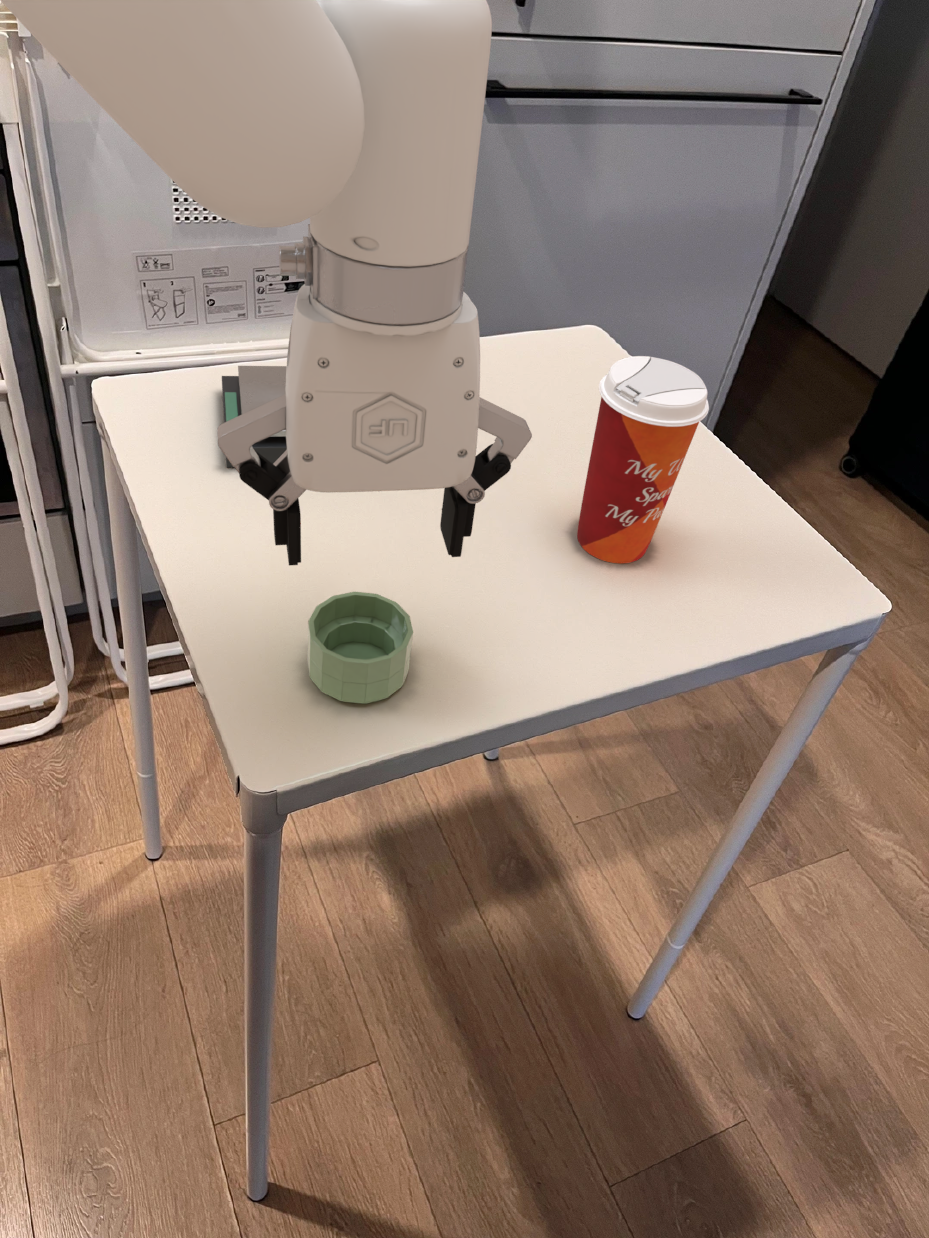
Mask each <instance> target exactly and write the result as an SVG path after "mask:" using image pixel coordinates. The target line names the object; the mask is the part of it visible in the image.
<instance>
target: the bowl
mask: <svg viewBox="0 0 929 1238" xmlns="http://www.w3.org/2000/svg"><path fill="white" fill-rule="evenodd" d="M307 624H308V625H307V668H308V677H309V678H310V680H311V681H312V682H313V684H314V685H315V686H316V688H318V689H319V691H320V692H322V693H323V694H325V695H327V696H329V697H330V698H334V699H336V700H337V701H340V702H344V703H353V704H354V703H355V704H370V703H375V702H379V701H382V700H385V699H388V698H389V697H390V696H392V695H393V694H394V693H395V692H397V691H399V690H400V689H401V688H402V687H403V685H404V684H405V680H406V678H407V676H408V674H409V670H410V661H411V660H410V659H411V653H412V646H413V645H412V644H413V638H414V629H413V624H412V621H411V617H410V614H409V613H407V612H406V610H405V609H404V608H403V607H402V606H401V605H400V604H399V602H396V601H394V600H392V599H390V598H388V597H385V596H383V595H381V594H378V593H372V592H364V591H363V592H362V591H349V592H345V593H340V594H335V595H331V597H329V598H327V599H326V600H324V601H322V602H320V603H319V604H318V605H316V606H315V608H314V610H313V611H312V613H311V615H310V617H309V619H308V621H307Z"/></svg>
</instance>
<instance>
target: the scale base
mask: <svg viewBox="0 0 929 1238" xmlns="http://www.w3.org/2000/svg"><path fill="white" fill-rule="evenodd" d="M221 391H222V410H223V411H222V412H223V423H225V422H227V421H229V420H231V419H233V418H235V417H238V416H240V415H242V413H241V400H240V388H239V375H221ZM252 448H253V449H254V450H255V451H257V452H258V453H259V454H261V455H262V456H263V457H264V458H266V459H267V460H268V461H270V462H271V463H272V464H273V463H274V462H275V461H276V460H277V459H278V458H279V457H280V456H281V455H282V454H283V453H284V452H285V451H286V450H287V444H286V437H268V438H266V439H263V440H261V441H259V442H257V443H255V444H253V445H252ZM225 465H226V468H228V469H229V468H231V469H232V468H234V469H235V467H233V466H232V464H231V463H230V462H229V460H228V459H227V457H226V456H225Z"/></svg>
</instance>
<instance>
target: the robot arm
mask: <svg viewBox="0 0 929 1238" xmlns="http://www.w3.org/2000/svg"><path fill="white" fill-rule="evenodd" d="M0 2H1V3H2V4H3V5H4V6H5V7H6V8H7V10H9V12H10V13H11V14H12V15H13V16H14V17H15V19H16V20H17V21H19V22H20V24H22V26H23V27H24V28H25V29H26V30H27V31H28V32H29V33H30V34H31V35H32V36H33V38H34V39H35V40H37V42H39V44H41V46H42V47H43V48H44V49H45V50H46V51H47V52H48V53H49V55H50V56H51V57H53V59H55V61H56V62H57V63H58V64H59V65H60V66H61V67H62V68H63V69H64V70H65V71H66V72H67V73H68V74H69V75H70V76H71V78H73V79H74V80H75V82H76V83H78V84H79V86H81V88H82V89H83V90H84V91H85V92H86V93H87V94H88V95H89V96H90V97H91V98H92V99H93V100H94V101H95V102H96V103H97V104H98V105H99V106H100V107H101V108H102V110H104V112H105V113H106V114H108V116H110V118H111V119H112V120H113V121H114V122H115V123H116V124H117V125H118V126H119V128H121V129H122V130H123V131H124V132H125V133H126V134H127V135H128V136H129V137H130V138H131V139H132V141H134V142H135V143H136V144H137V145H138V146H139V148H140V149H141V150H142V151H143V152H144V153H145V154H146V155H147V156H148V157H149V158H150V159H151V160H152V161H153V162H154V163H155V164H156V165H157V166H158V167H159V169H160V170H162V172H164V174H166V176H168V177H169V178H170V180H171V181H173V182H174V184H175V185H177V187H179V189H180V190H182V191H183V192H184V193H185V194H186V195H188V197H189V198H191V200H193V201H194V202H196V203H197V204H198V205H199V206H201V207H202V208H204V209H206V210H207V211H209V212H211V213H212V214H214V215H216V216H218V217H220V218H221V219H224V220H227V221H230V222H233V223H236V224H238V225H242V226H246V227H253V228H260V229H269V228H271V229H272V228H283V227H287V226H291V225H295V224H299V223H302V222H303V221H306V220H308V219H309V223H307V236H302V242H295V243H294V245H279V246H278V265H279V267H278V268H279V275H280V276H281V277H282V276H283V277H295V279H298V280H303V281H304V284H302V285H301V286H300V288H299V289H298V291H297V294H296V298H295V303H294V307H293V312H292V318H291V322H290V331H289V339H288V346H287V357H286V366H287V367H286V386H285V395H282V396H280V397H278V398H276V399H274V400H272V401H270V402H268V403H265V404H263V405H261V406H259V407H257V408H255V409H253V410H250V411H248V412H246V413H244V414H242V415H240V416H238V417H235V418H233V419H231V420H229V421H227V422H225V423H224V422H223V423H221V424H219V425H218V426H217V430H216V432H217V433H216V435H217V436H216V437H217V446H218V449H220V450H221V452H222V454H224V456H225V458H226V457H227V459H228V460H229V462H230V463H231V464H232V466H233V467H234V469H235V470H236V472H237V473H238V474H239V479H240V480H241V481H242V482H243V483H244V484H246V485H247V486H248V487H250V488H251V489H252V490H254V491H255V492H256V493H258V494H259V495H260V496H262V497H263V498H265V499H266V500H268V505H269V507H270V508H271V509H272V514H273V515H272V516H273V536H274V545H275V546H286V553H287V554H286V555H287V561H288V562H287V563H288V566H299V563H300V564H301V563H302V526H301V525H302V524H301V522H302V521H301V519H302V518H301V517H302V515H301V507H300V499H299V498H300V497H301V496H302V495H304V493H305V492H306V491H310V492H316V493H364V492H367V493H369V492H394V491H395V492H398V491H421V490H423V491H424V490H438V489H439V490H440V489H443V497H442V504H441V505H442V507H441V515H440V525H439V527H440V528H439V529H440V532H441V535H442V539H443V542H444V545H445V548H446V551H447V555H448V556H451V558H461V556H462V551H463V546H464V545H463V544H464V538H467V537H471V536H472V532H473V526H474V519H475V511H476V505H477V504H478V503H480V502H482V501H483V499H484V498H485V496H486V491H487V490H488V489H489V488H490V487H492V486H493V485H494V484H496V483H497V482H498V481H499V480H501V479H502V478H503V477H504V476H506V475H507V474H508V473H509V472H510V471H511V469H512V463H513V461H514V460H517V458H518V457H519V456H520V454H521V453H522V452H523V451H524V449H525V448H526V446H527V445H528V444H529V442H530V441H531V439H532V438H533V434H532V431H531V429H530V427H529V425H528V422H527V421H526V419H525V418H523V417H521V416H520V415H518V414H515V413H513V412H511V411H509V410H507V409H505V408H502V407H501V406H498V405H497V404H494V403H492V402H491V401H488V399H487V400H486V399H484V398H483V397H480V396H481V394H480V392H481V391H480V390H481V336H480V321H479V314H478V309H477V307H476V305H475V304H474V302H473V301H472V299H471V298H470V296H469V295H468V294H467V293H466V292H465V283H466V282H465V280H466V272H467V265H468V264H467V263H468V253H469V244H470V235H471V227H472V226H471V225H472V218H473V207H474V199H475V191H476V190H475V189H476V184H477V183H476V181H477V174H478V173H477V172H478V166H479V165H478V163H479V154H480V146H481V138H482V129H483V128H482V127H483V118H484V112H485V111H484V110H485V102H486V91H487V83H488V75H489V65H490V57H491V47H492V45H491V44H492V31H493V22H492V13H491V9H490V5H489V4H488V1H487V0H0ZM283 430H286V444H287V450H286V451H285V452H284V453H283V454H282V455H281V456H280V457H279V458H278V459H277V460H276V461H275V462H274V463H273V464H272V463H271V462H270V461H268V460H267V459H266V458H264V457H263V456H262V455H261V454H259V453H258V452H257V451H255V450H254V449H253V448H252V445H253V444H255V443H257V442H259V441H261V440H263V439H266V438H268V437H270V436H272V435H274V434H276V433H279V432H281V431H283ZM479 430H481V431H483V432H485V433H488V434H490V435H492V436H494V437H495V439H494V442H493V443H491V444H489V445H488V446H487V447H484V449H483V450H482V451H480V452H479V453H478V454H477V448H478V447H477V445H478V436H479V434H478V433H479Z"/></svg>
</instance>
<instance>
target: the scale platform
mask: <svg viewBox="0 0 929 1238" xmlns="http://www.w3.org/2000/svg"><path fill="white" fill-rule="evenodd" d="M286 367H287V365H237V374H238V375H237V376H239V388H240V400H241V413H242V414H244V413H246V412H248V411H250V410H253V409H255V408H257V407H259V406H261V405H263V404H265V403H268V402H270V401H272V400H274V399H276V398H278V397H280V396H282V395H285V386H286ZM270 437H286V430H283V431H281V432H279V433H276V434H274V435H272V436H270Z"/></svg>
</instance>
